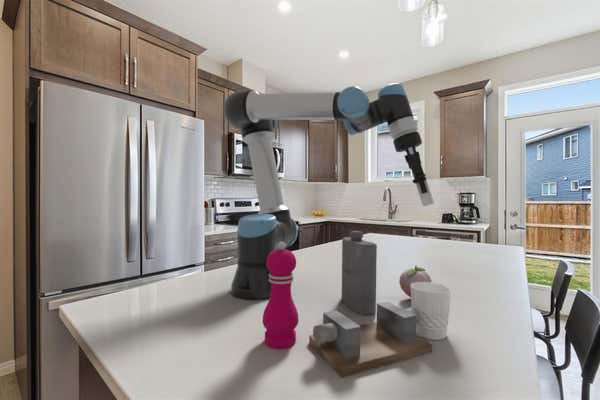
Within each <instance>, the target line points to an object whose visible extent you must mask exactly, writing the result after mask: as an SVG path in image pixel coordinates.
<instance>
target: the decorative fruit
mask: <svg viewBox="0 0 600 400" xmlns="http://www.w3.org/2000/svg"><path fill="white" fill-rule="evenodd" d="M398 282H399V286H400V289H401V290H402V291H403V293H404V294H405V296H408V297H409V298H411V284H412V283H415V282H431V283H432V279H431V276H430V275H429V274H428V272H427V271H426V269H425V268H424V267H419V266H417V265H415V267H414V268H409V269H406V270H404V271H402V273H401V274H400V276H399V280H398Z"/></svg>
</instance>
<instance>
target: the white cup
mask: <svg viewBox="0 0 600 400" xmlns="http://www.w3.org/2000/svg"><path fill="white" fill-rule="evenodd" d="M451 291H452V289H451V288H450V287H448V286H447V285H443V284H441V283H435V282H432V281H431V282H415V283H412V284H411V297H410V304H411V305H410V308H415V309H416V310H417V311H418V313H419V316H420V319H419V322H418V323H416V335H417V336H419V337H420V338H422V339H425V340H426V339H427V340H430V341H441V340H445V339H446V338H447V335H448V324H449V319H450V318H449V316H450V308H451V307H450V305H451V304H450V302H451Z"/></svg>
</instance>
